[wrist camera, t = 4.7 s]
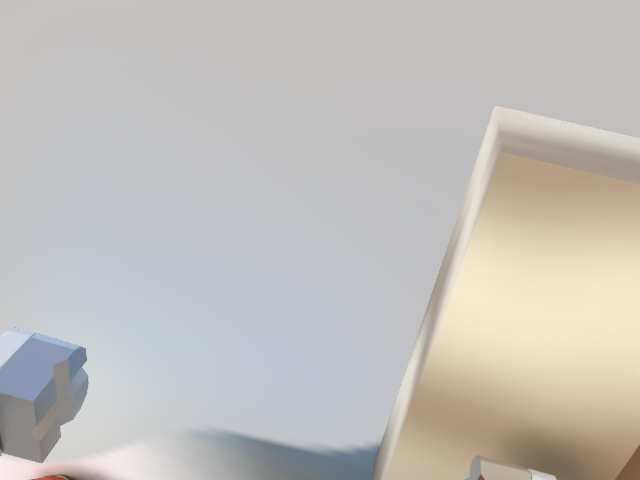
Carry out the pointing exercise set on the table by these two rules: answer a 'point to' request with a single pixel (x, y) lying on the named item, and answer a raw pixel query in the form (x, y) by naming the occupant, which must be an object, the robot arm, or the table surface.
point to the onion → (52, 478)
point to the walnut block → (631, 468)
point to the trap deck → (530, 314)
